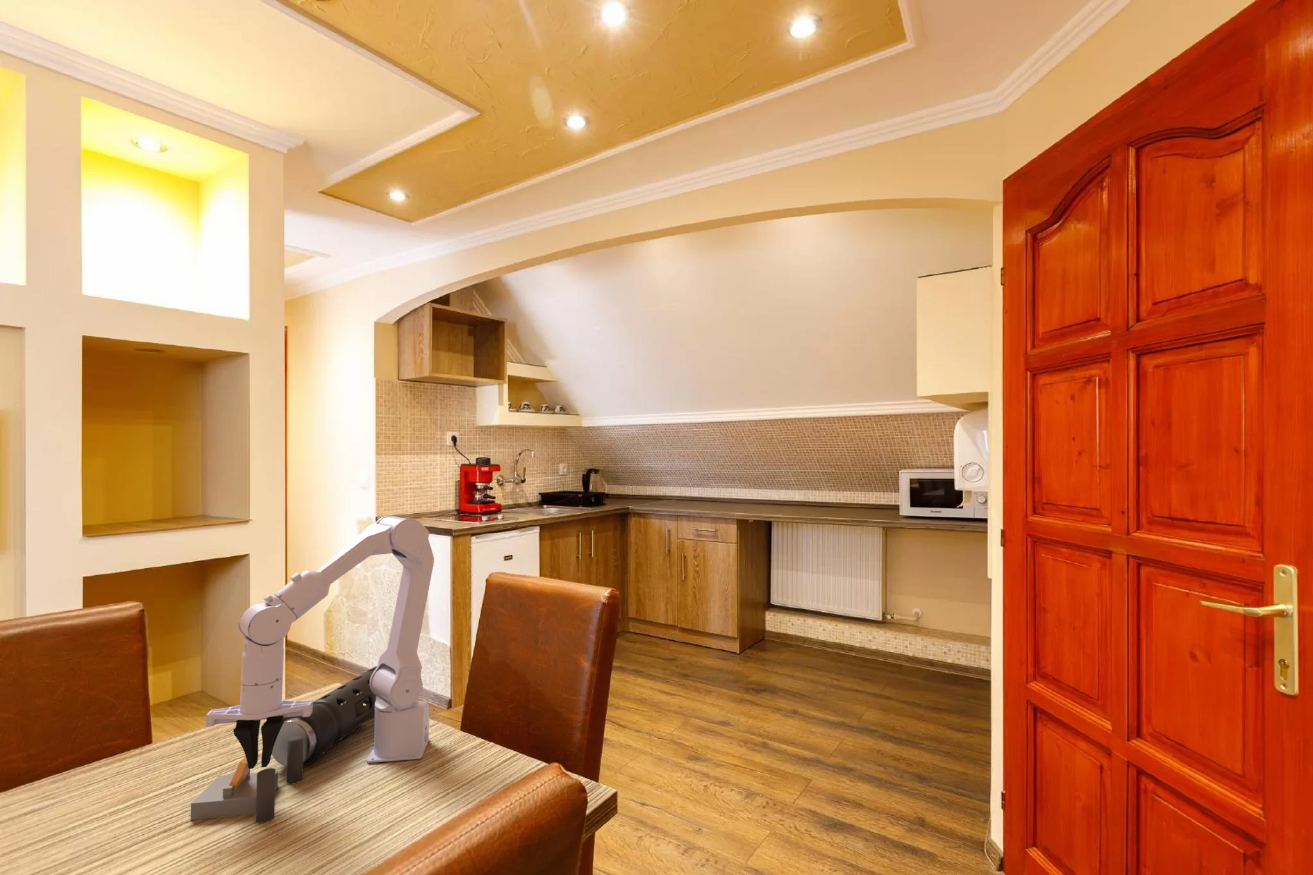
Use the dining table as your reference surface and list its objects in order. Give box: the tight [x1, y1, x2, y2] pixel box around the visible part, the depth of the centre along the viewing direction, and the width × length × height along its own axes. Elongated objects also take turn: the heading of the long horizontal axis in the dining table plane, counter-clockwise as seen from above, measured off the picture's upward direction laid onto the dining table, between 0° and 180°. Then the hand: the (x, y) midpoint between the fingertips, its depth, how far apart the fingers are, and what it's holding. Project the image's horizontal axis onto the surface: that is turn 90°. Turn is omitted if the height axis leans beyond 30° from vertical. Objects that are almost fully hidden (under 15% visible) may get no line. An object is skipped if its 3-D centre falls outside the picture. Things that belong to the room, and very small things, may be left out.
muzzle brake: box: [271, 666, 377, 768], centre depth 120 cm, size 10×28×10 cm
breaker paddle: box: [229, 756, 251, 790], centre depth 97 cm, size 1×4×4 cm, turn 10°
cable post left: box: [255, 767, 276, 824], centre depth 92 cm, size 2×2×7 cm
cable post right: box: [285, 736, 304, 785], centre depth 103 cm, size 2×2×7 cm
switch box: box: [190, 769, 279, 821], centre depth 97 cm, size 9×8×4 cm
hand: (258, 765), depth 97 cm, fingers closed
